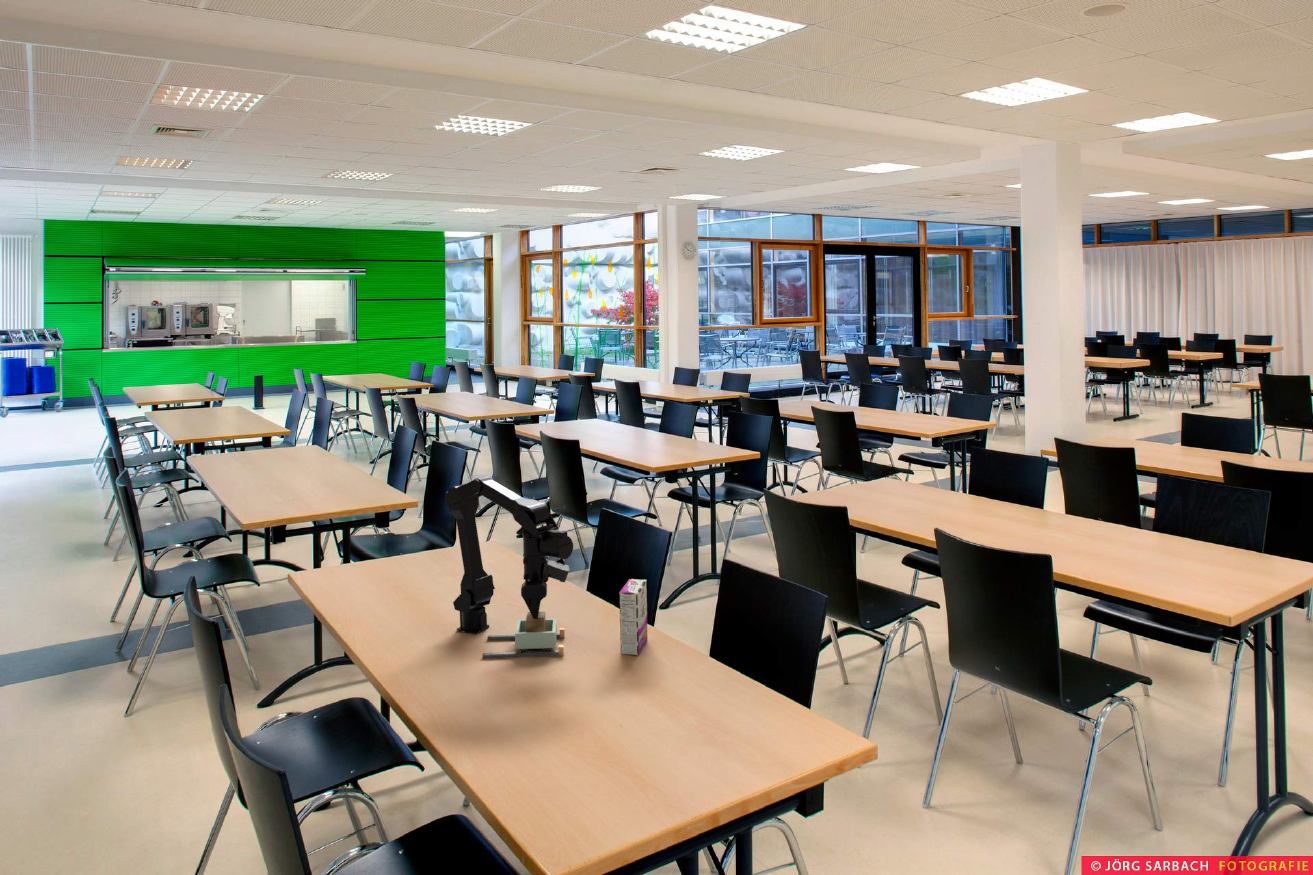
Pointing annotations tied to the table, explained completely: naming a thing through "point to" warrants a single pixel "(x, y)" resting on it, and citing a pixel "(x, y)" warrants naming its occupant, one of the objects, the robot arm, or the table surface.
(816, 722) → the table surface
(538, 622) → the walnut block
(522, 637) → the sage green storage bin
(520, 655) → the rails
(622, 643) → the candy bar box
